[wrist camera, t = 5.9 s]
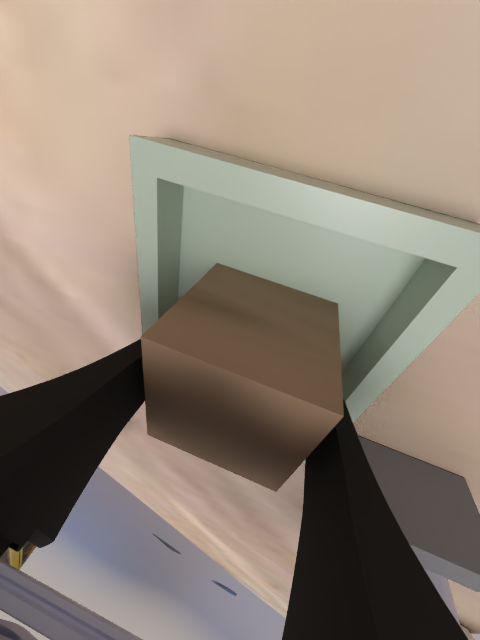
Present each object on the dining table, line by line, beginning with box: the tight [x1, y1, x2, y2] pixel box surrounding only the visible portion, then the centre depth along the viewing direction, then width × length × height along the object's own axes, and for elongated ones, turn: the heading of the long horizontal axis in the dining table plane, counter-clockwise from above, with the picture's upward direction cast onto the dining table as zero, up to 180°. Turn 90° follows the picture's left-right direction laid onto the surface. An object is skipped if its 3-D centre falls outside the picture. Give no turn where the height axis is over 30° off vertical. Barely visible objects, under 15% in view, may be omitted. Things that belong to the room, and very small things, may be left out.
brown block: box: [141, 263, 344, 491], centre depth 11 cm, size 6×6×6 cm
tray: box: [129, 135, 480, 464], centre depth 13 cm, size 15×12×2 cm
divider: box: [358, 436, 480, 592], centre depth 15 cm, size 2×8×5 cm, turn 78°
